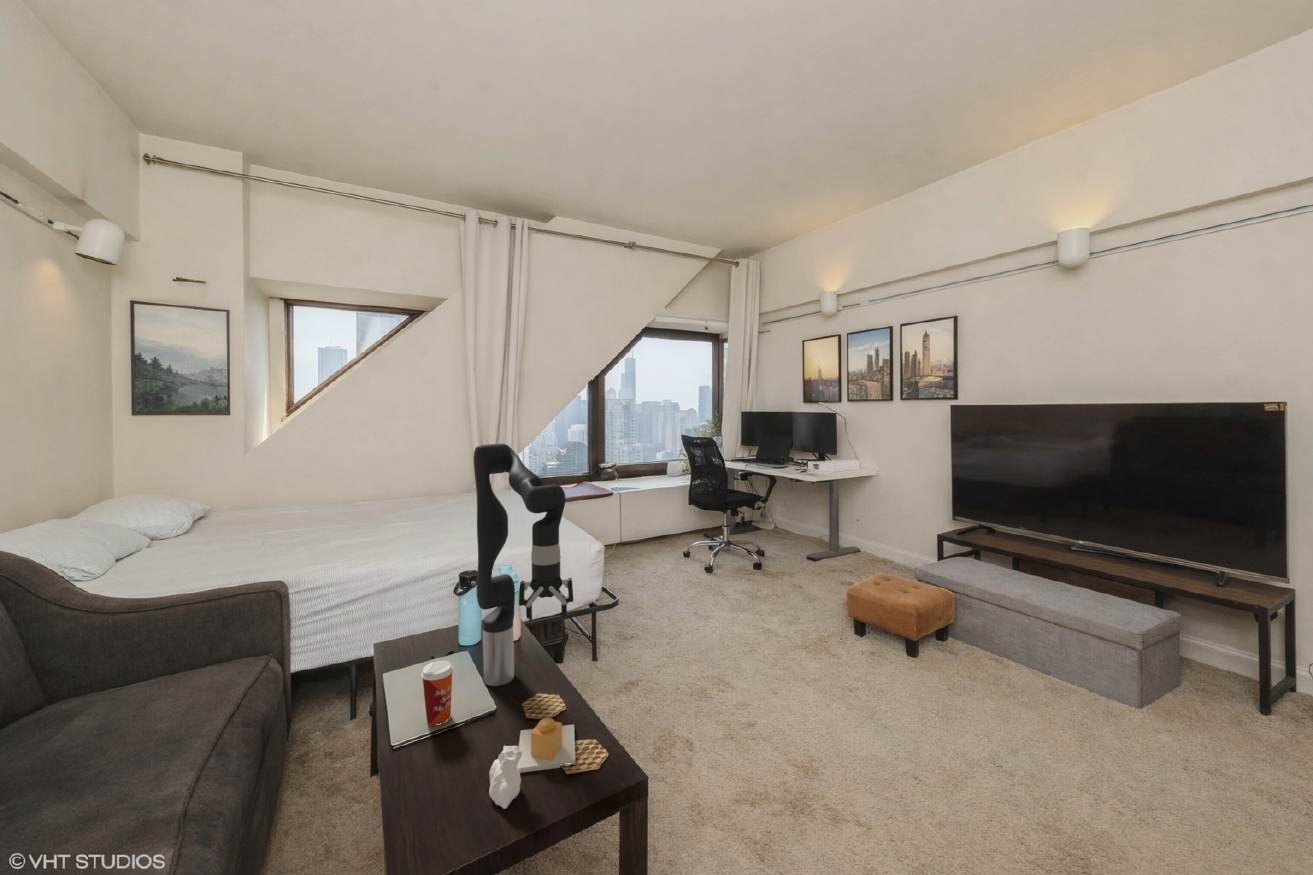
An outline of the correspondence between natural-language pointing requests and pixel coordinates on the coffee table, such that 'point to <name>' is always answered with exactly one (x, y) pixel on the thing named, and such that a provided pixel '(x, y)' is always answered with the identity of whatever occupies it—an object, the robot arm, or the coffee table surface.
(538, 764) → the plate
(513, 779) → the bust
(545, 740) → the domed orange cube
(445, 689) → the coffee cup
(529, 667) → the coffee table surface
